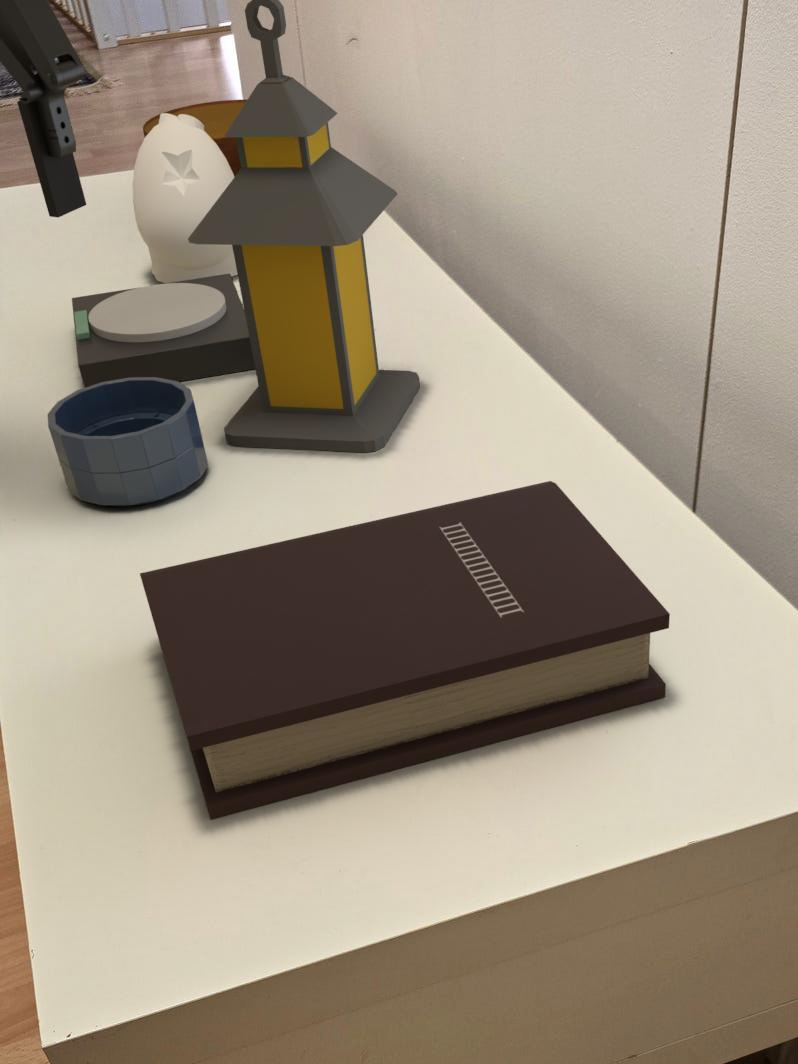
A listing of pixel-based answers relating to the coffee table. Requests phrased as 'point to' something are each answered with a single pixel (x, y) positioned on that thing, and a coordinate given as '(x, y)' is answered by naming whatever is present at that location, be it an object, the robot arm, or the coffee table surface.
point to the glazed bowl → (128, 440)
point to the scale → (163, 332)
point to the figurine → (180, 198)
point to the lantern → (303, 271)
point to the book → (399, 643)
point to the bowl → (212, 125)
